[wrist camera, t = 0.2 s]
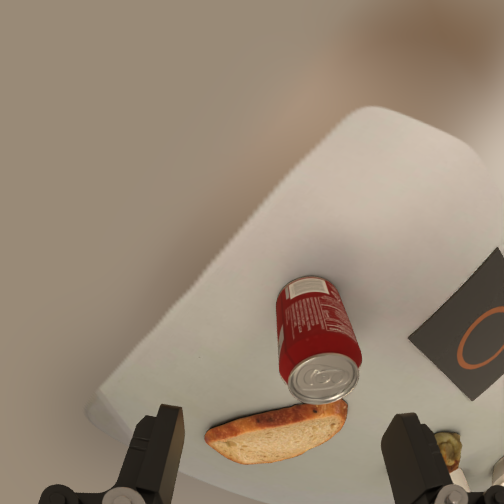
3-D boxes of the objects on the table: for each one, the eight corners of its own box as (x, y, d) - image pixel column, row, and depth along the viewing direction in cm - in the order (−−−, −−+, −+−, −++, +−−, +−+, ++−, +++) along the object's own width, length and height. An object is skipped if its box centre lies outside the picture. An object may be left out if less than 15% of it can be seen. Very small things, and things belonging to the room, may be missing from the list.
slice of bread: (357, 400, 40) (362, 420, 36) (301, 463, 46) (303, 480, 43) (232, 372, 38) (230, 393, 35) (199, 442, 45) (196, 461, 41)
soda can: (279, 270, 33) (286, 346, 22) (344, 275, 33) (377, 348, 22) (272, 325, 35) (274, 408, 24) (332, 328, 35) (354, 409, 24)
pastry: (468, 422, 44) (483, 453, 36) (443, 457, 48) (453, 486, 41) (405, 436, 44) (417, 472, 37) (384, 470, 49) (392, 502, 41)
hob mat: (407, 337, 36) (408, 339, 35) (497, 246, 31) (498, 248, 30) (471, 400, 41) (472, 401, 41) (538, 336, 36) (539, 337, 36)
